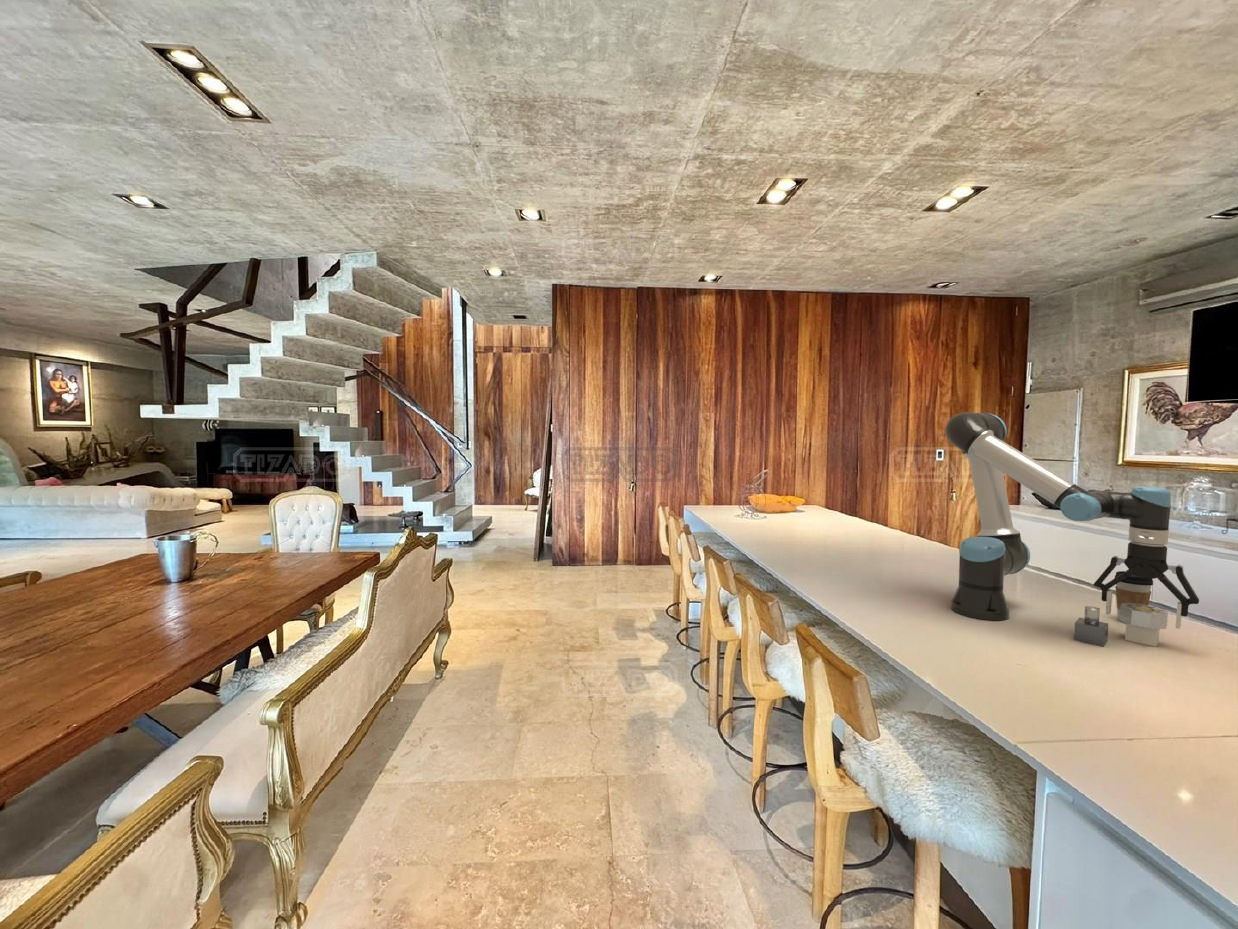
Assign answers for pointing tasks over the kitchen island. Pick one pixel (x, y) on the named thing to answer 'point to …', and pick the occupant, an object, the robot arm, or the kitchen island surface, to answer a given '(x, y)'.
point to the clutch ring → (1143, 616)
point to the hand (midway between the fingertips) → (1141, 620)
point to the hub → (1142, 633)
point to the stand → (1091, 628)
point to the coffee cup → (1132, 590)
